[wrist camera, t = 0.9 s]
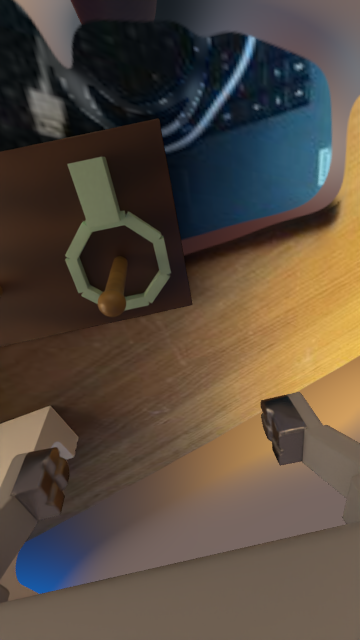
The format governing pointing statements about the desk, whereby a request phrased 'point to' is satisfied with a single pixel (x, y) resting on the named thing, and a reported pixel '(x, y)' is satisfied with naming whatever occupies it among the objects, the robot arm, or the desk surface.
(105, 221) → the hanging tag
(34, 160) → the peg rack
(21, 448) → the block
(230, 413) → the desk surface
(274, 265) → the desk surface
